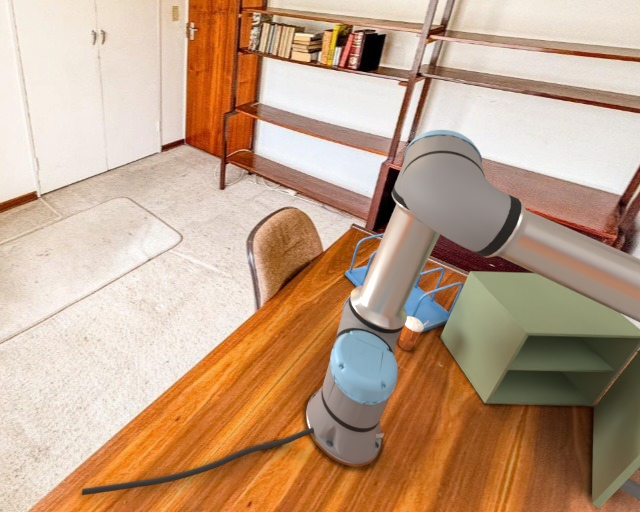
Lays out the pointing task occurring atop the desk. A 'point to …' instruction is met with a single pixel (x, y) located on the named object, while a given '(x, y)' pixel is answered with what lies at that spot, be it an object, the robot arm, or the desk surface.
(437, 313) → the file sorter
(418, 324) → the milkshake
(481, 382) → the cupboard
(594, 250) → the robot arm
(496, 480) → the desk surface
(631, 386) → the door
